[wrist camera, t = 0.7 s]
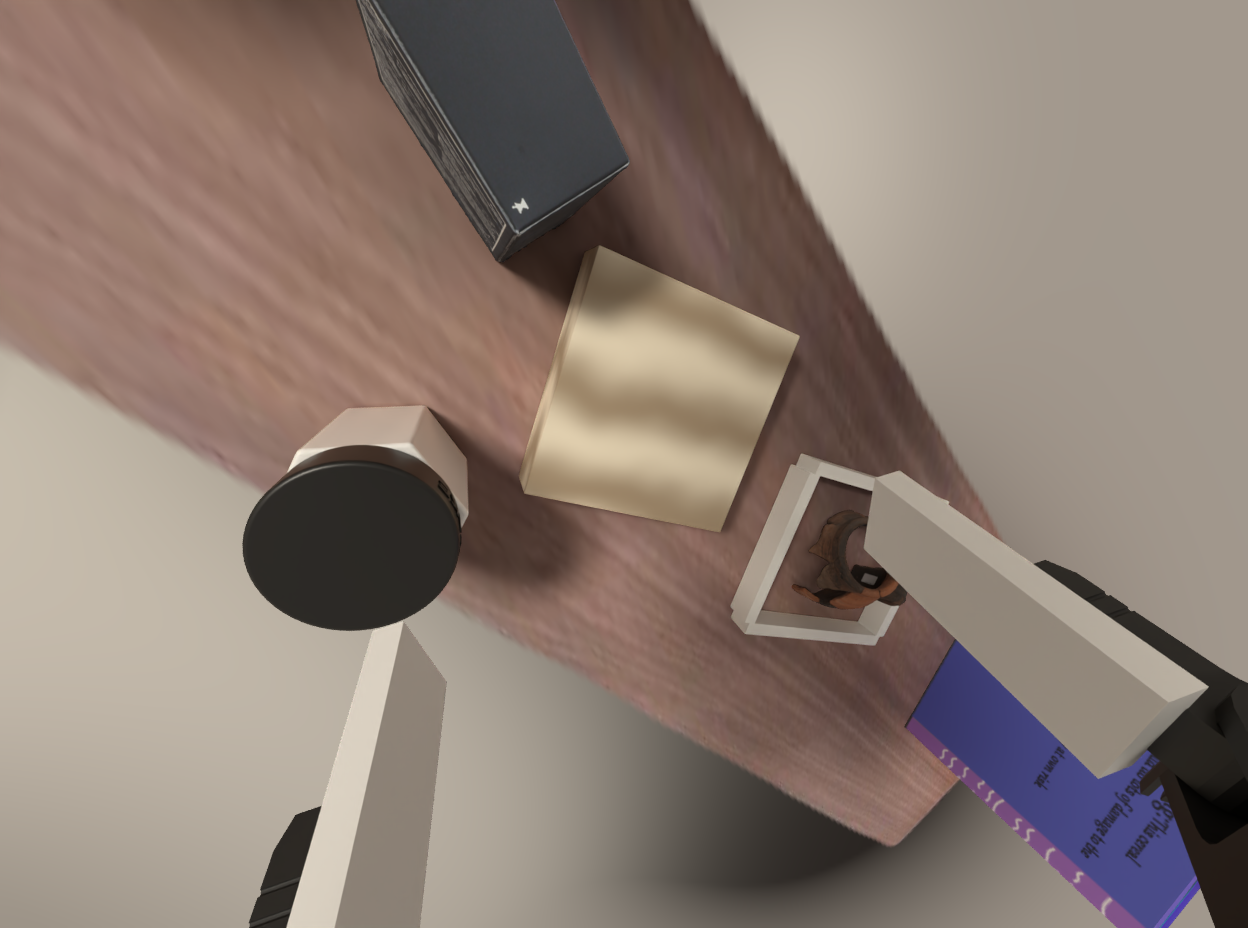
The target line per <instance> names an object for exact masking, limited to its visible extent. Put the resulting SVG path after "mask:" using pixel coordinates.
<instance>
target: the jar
mask: <svg viewBox="0 0 1248 928" xmlns="http://www.w3.org/2000/svg"><path fill="white" fill-rule="evenodd" d="M468 515H469V506H468V474H467V459H466V457H465V456H464V455H463V453H462V452H461V451H460V450H459V448H458V447H457V446H456V444H455V443H454V442H453V441H452V439H451V438H450V437H449V435H448V434H447V433H446V431H445V430H444V429H443V428H442V426H441V425H440V424H439V422H438V421H437V420H436V418H435V417H434V416H433V415H432V413H431V412H430V411H429V409H428V408H427V407H426V406H398V407H372V408H348V409H346V410H344V411H343V412H342V413H341V414H340V415H339V416H337V417H336V418H335V419H334V420H333V421H332V422H330V423H329V424H328V425H327V426H326V427H325V428H324V429H322V430H321V431H320V432H319V433H318V434H317V435H315V436H314V437H313V438H312V439H311V440H310V441H308V442H307V443H306V444H305V445H304V446H303V447H301V448H300V449H299V450H298V451H297V452H296V454H295V457H294V459H293V461H292V463H291V465H290V467H289V469H288V472H287V474H286V475H284V476H283V477H282V478H281V479H280V480H279V481H278V482H277V483H276V484H275V485H274V486H273V487H272V488H271V489H270V490H269V491H267V492H266V493H265V494H264V496H263V497H262V498H261V499H260V500H259V502H258V503H257V504H256V506H255V507H254V509H253V511H252V513H251V514H250V517H249V519H248V521H247V524H246V527H245V531H244V535H243V557H244V562H245V565H246V569H247V572H248V573H249V576H250V578H251V580H252V582H253V583H254V585H255V587H256V588H257V589H258V590H259V592H260V593H261V594H262V595H263V596H264V597H265V598H266V599H267V600H268V601H269V602H270V603H271V604H272V605H274V606H275V607H276V608H277V609H279V610H280V611H282V612H283V613H285V614H287V615H288V616H290V617H292V618H294V619H297V620H299V621H301V622H304V623H306V624H309V625H313V626H317V627H321V628H326V629H332V630H346V631H355V630H367V629H373V628H379V627H383V626H386V625H390V624H393V623H396V622H398V621H401V620H403V619H405V618H408V617H409V616H411V615H413V614H415V613H417V612H418V611H420V610H421V609H423V608H424V607H425V606H427V605H428V604H429V603H431V602H432V601H433V600H434V599H435V598H436V597H437V596H438V595H439V594H440V593H441V591H442V590H443V589H444V587H445V586H446V585H447V583H448V582H449V580H450V578H451V576H452V574H453V572H454V570H455V567H456V564H457V561H458V556H459V552H460V545H461V535H460V533H461V528H462V526H463V524H464V523H465V521H466V519H467V517H468Z"/></svg>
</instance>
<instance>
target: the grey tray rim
mask: <svg viewBox="0 0 1248 928" xmlns="http://www.w3.org/2000/svg"><path fill="white" fill-rule="evenodd" d="M820 476H822V477H825V478H829V479H832V480H836V481H839V482H842V483H846V484H849V485H853V486H856V487H860V488H863V489H866V490H870V491H873V487H874V481H875V478H877V477H875V476H872V475H869V474H866V473H863V472H860V471H856V470H853V469H850V468H847V467H844V466H840V465H837V464H834V463H831V462H828V461H824V460H821V459H818V458H815V457H812V456H809V455H805V454H802V453H801V455H800V457H799V460H798V462H797V464H796V465H793V464H791V466H790V468H789V470H788V473H787V475H786V477H785V480H784V482H783V484H782V487H781V489H780V491H779V494H778V496H777V498H776V501H775V503H774V505H773V508H772V510H771V512H770V515H769V517H768V519H767V522H766V524H765V526H764V529H763V531H762V533H761V536H760V538H759V540H758V543H757V545H756V547H755V550H754V552H753V554H752V557H751V559H750V561H749V564H748V566H747V568H746V571H745V573H744V575H743V578H742V580H741V582H740V585H739V587H738V589H737V592H736V594H735V596H734V599H733V601H732V603H731V606H730V607H731V608H732V609H733V610H734V611H733V613H732V615H731V619H732V620H733V621H734V622H735V623H736V624H737V626H738V627H739V628H740V629H741V630H742V631H743V632H744V634H751V635H762V636H774V637H785V638H796V639H807V640H818V641H829V642H840V643H852V644H863V645H874V646H875V644H876V643H877V641H878V639H879V637H880V636H881V637H883V636H884V634H885V633H886V631H887V629H888V627H889V625H890V623H891V621H892V619H893V617H894V615H895V613H896V611H897V609H898V607H899V606H889V605H887V604H884V603H882V602H880V601H877V600H876V601H874V602H873V603H871V604H869V605H868V606H865V608H864V610H863V612H862V614H861V616H860V618H859V620H858V622H857V621H849V620H840V619H832V618H823V617H815V616H807V615H798V614H790V613H781V612H773V611H764V610H761V608H762V606H763V604H764V601H765V599H766V597H767V595H768V592H769V590H770V588H771V586H772V583H773V581H774V579H775V577H776V574H777V572H778V570H779V568H780V565H781V563H782V561H783V559H784V556H785V554H786V552H787V550H788V547H789V545H790V543H791V541H792V539H793V536H794V534H795V532H796V530H797V527H798V525H799V523H800V521H801V518H802V516H803V514H804V512H805V509H806V507H807V505H808V503H809V500H810V498H811V496H812V494H813V491H814V489H815V487H816V485H817V482H818V480H819V478H820ZM938 498H939V497H938ZM939 499H941V500H942V501H944V502H945V503H947V504H948V503H949V501H947V500H944V499H942V498H939ZM906 592H907V591H906Z"/></svg>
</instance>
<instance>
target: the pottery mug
mask: <svg viewBox="0 0 1248 928" xmlns="http://www.w3.org/2000/svg"><path fill="white" fill-rule="evenodd" d="M868 518H869V517H866V516H863V515H862V514H860V513H857V512H854V511H852V510H847V511H843V512H840V513H838V514H836V515H834V516H833V517H831V518H829V519H828V521H827V524H828V525H825V526H824V527H823V529H822V532H821V535H820V538H819V541H818V542H817V543H816V544H815V545H814V546H813V547H811V549H810V550H809V552H810V553H814V554H816V555H818V556H819V557H821V558H823V559H825V560H827V561H828V562H829V564H828V565H827V566H825V567H824V568H823V569H822V572H821V574H820V576H819V577H818V579H817V585H818V587H819V588H820V589H823V590H821V591H819V592H817V593H811V592H809V591H808V590H807V589H806V588H801V587H799V586H797V585H795V584H793V585H792V588H793V589H794V590H795V591H796V592H798V593H799V594H801V595H803V596H805V597H807V598H809V599H810V600H812V601H815V602H817V603H820V604H822V605H825V606H828V607H832V608H838V609H855V608H862V607H865V606H868V605H869V604H871V603H873V602H874V601H876V600H877V601H880V602H882V603H884V604H887V605H889V606H900V605H901V604H903V603H904V602H905V601H906V595H907V592H906V590H905V589H904V588H903V587H902V586H901V585H900V584H899V583H898V582H897V581H896V580H895V579H894V578H893V577H892V576H891V575H890V574H889V573H888V572H887V571H886V570H885V569H884V568H870V567H866V566H859V565H855V566H854V567H853V569H852V571H851V572H850V570H849V568H848V565H847V562H846V556H845V555H846V553H845V551H846V544H847V540H848V538H849V536H850V534H851V533H852V532H853V531H854V530H855V529H856V528H858V527H860V526H867V524H868Z"/></svg>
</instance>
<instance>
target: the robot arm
mask: <svg viewBox="0 0 1248 928" xmlns="http://www.w3.org/2000/svg"><path fill="white" fill-rule="evenodd" d="M864 549H865V550H866V551H867V552H868V553H869V554H870V555H871V556H872V557H873V558H874V559H875V560H876V561H877V562H878V563H879V564H880V565H881V566H882V567H883V568H884V569H885V570H886V571H887V572H888V573H889V574H890V575H891V576H892V577H893V578H894V579H895V580H896V581H897V582H898V583H899V584H900V585H901V586H902V587H903V588H904V589H905V590H906V591H907V592H908V593H909V594H910V595H911V596H912V597H913V598H914V599H915V600H916V601H917V602H918V603H920V604H921V605H922V606H923V607H924V608H925V609H926V610H927V611H928V612H929V613H930V614H931V615H932V616H933V617H934V618H935V619H936V620H937V621H938V622H939V623H940V624H941V625H942V626H943V627H944V628H945V629H946V630H947V631H948V632H949V633H950V634H951V635H952V636H953V637H954V638H955V639H956V640H957V641H958V642H959V643H960V644H961V645H962V646H963V647H964V648H965V649H966V650H967V651H968V652H969V653H970V654H971V655H972V656H973V657H974V658H975V659H977V660H978V661H979V662H980V663H981V664H982V665H983V666H984V667H985V668H986V669H987V670H988V671H989V672H990V673H991V674H992V675H993V676H994V677H995V678H996V679H997V680H998V681H999V682H1000V683H1001V684H1002V685H1003V686H1004V687H1005V688H1006V689H1007V690H1008V691H1009V692H1010V693H1011V694H1012V695H1013V696H1014V697H1015V698H1016V699H1017V700H1018V701H1019V702H1020V703H1021V704H1022V705H1023V706H1024V707H1025V708H1026V709H1027V710H1028V711H1029V712H1030V713H1031V714H1032V715H1033V716H1035V717H1036V718H1037V719H1038V720H1039V721H1040V722H1041V723H1042V724H1043V725H1044V726H1045V727H1046V728H1047V729H1048V730H1049V731H1050V732H1051V733H1052V734H1053V735H1054V736H1055V737H1056V738H1057V739H1058V740H1059V741H1060V742H1061V743H1062V744H1063V745H1064V746H1065V747H1066V748H1067V749H1068V750H1069V751H1070V752H1071V753H1072V754H1073V755H1074V756H1075V757H1076V758H1077V759H1078V760H1079V761H1080V762H1081V763H1082V764H1083V765H1084V766H1085V767H1086V768H1087V769H1088V770H1089V771H1090V772H1091V773H1093V774H1094V775H1095V776H1096V777H1097V778H1098V779H1099V778H1102V777H1104V776H1107V775H1109V774H1112V773H1114V772H1117V771H1120V770H1122V769H1125V768H1127V767H1130V766H1132V765H1133V764H1134V763H1135V762H1136V761H1137V760H1138V759H1139V758H1140V757H1141V756H1142V755H1143V754H1144V753H1145V752H1146V751H1147V750H1148V751H1149V752H1150V753H1151V754H1152V755H1154V756H1155V757H1156V758H1157V759H1158V760H1159V762H1158V763H1157V764H1156V765H1155V766H1154V767H1153V768H1152V769H1150V770H1149V771H1148V772H1147V773H1146V774H1145V775H1144V777H1143V778H1142V779H1141V781H1140V782H1139V784H1140V794H1142V795H1145V796H1150V795H1151V794H1152V793H1153V792H1154V791H1155V790H1156V789H1157V788H1159V787H1160V786H1161V785H1162V786H1163V789H1164V791H1163V792H1162V795H1161V797H1160V800H1161V801H1164V802H1167V803H1169V805H1170V807H1171V810H1172V813H1173V815H1174V818H1175V821H1176V824H1177V826H1178V829H1179V832H1180V834H1181V837H1182V840H1183V842H1184V845H1185V848H1186V850H1187V853H1188V856H1189V859H1190V861H1191V864H1192V867H1193V869H1194V872H1195V875H1196V877H1197V880H1198V883H1199V885H1200V888H1201V891H1202V893H1203V896H1204V899H1205V901H1206V904H1207V907H1208V910H1209V912H1210V915H1211V917H1212V920H1213V923H1214V925H1215V928H1248V683H1246V682H1244V681H1242V680H1240V679H1238V678H1236V677H1234V676H1233V675H1231V674H1229V673H1228V672H1226V671H1224V670H1223V669H1221V668H1219V667H1218V666H1216V665H1215V664H1213V663H1212V662H1210V661H1209V660H1207V659H1206V658H1204V657H1203V656H1201V655H1200V654H1198V653H1196V652H1195V651H1194V650H1192V649H1191V648H1189V647H1188V646H1186V645H1185V644H1183V643H1182V642H1180V641H1179V640H1177V639H1176V638H1174V637H1173V636H1171V635H1170V634H1168V633H1166V632H1165V631H1164V630H1162V629H1161V628H1159V627H1158V626H1156V625H1155V624H1153V623H1151V622H1150V621H1148V620H1147V619H1145V618H1144V617H1142V616H1141V615H1139V614H1138V613H1136V612H1135V611H1130V610H1129V609H1128V607H1127V606H1126V605H1124V604H1123V603H1121V602H1120V601H1118V600H1117V599H1115V598H1114V597H1112V596H1111V595H1110V596H1108V595H1106V594H1105V592H1104V591H1103V590H1101V589H1100V588H1099V587H1097V586H1095V585H1094V584H1093V583H1091V582H1090V581H1088V580H1087V579H1085V578H1083V577H1082V576H1080V575H1079V574H1077V573H1075V572H1073V571H1071V570H1068V569H1066V568H1063V567H1061V566H1058V565H1056V564H1054V563H1051V562H1049V561H1046V560H1044V561H1041V562H1038V563H1035V564H1032V563H1031V562H1030V561H1028V560H1027V559H1025V558H1024V557H1022V556H1021V555H1019V554H1018V553H1017V552H1015V551H1014V550H1012V549H1011V548H1010V547H1008V546H1007V545H1005V544H1004V543H1002V542H1001V541H1000V540H998V539H997V538H995V537H994V536H992V535H991V534H990V533H988V532H987V531H985V530H984V529H982V528H981V527H980V526H978V525H977V524H975V523H974V522H972V521H971V520H970V519H968V518H967V517H965V516H964V515H962V514H961V513H959V512H958V511H957V510H955V509H954V508H952V507H951V506H949V505H948V504H947V503H945V502H944V501H942V500H941V499H939V498H938V497H937V496H935V495H934V494H932V493H931V492H929V491H928V490H927V489H925V488H924V487H922V486H921V485H919V484H918V483H917V482H915V481H914V480H912V479H911V478H909V477H908V476H907V475H905V474H904V473H902V472H901V471H896V472H893V473H890V474H886V475H883V476H880V477H877V478H875V481H874V487H873V493H872V499H871V506H870V512H869V518H868V524H867V530H866V536H865V543H864ZM446 683H447V682H446V681H445V679H444V678H443V676H442V675H441V673H440V672H439V671H438V669H437V668H436V666H435V665H434V664H433V662H432V661H431V659H430V658H429V657H428V655H427V654H426V652H425V651H424V650H423V648H422V647H421V645H420V644H419V642H418V641H417V640H416V638H415V637H414V635H413V634H412V633H411V631H410V630H409V628H408V627H407V626H406V624H405V623H404V622H400V623H397V624H393V625H390V626H387V627H383V628H380V629H377V630H374V631H373V632H372V635H371V639H370V642H369V646H368V649H367V652H366V656H365V659H364V663H363V666H362V670H361V673H360V676H359V680H358V683H357V687H356V690H355V694H354V697H353V701H352V704H351V707H350V711H349V714H348V718H347V721H346V725H345V728H344V731H343V735H342V738H341V742H340V745H339V749H338V752H337V755H336V759H335V762H334V766H333V769H332V773H331V776H330V780H329V783H328V786H327V790H326V793H325V797H324V800H323V804H322V806H320V807H317V808H314V809H311V810H308V811H305V812H302V813H300V814H297V815H295V817H294V819H293V820H292V822H291V823H290V825H289V827H288V829H287V830H286V832H285V833H284V835H283V837H282V838H281V840H280V841H279V843H278V845H277V846H276V848H275V850H274V852H273V854H272V857H271V860H270V863H269V866H268V869H267V872H266V875H265V877H264V880H263V883H262V886H261V889H260V890H261V895H260V897H258V898H257V901H256V904H255V906H254V909H253V912H252V915H251V918H250V921H249V923H250V927H249V928H420V920H421V911H422V901H423V893H424V883H425V874H426V865H427V856H428V847H429V837H430V829H431V820H432V810H433V801H434V792H435V783H436V774H437V765H438V756H439V746H440V738H441V729H442V720H443V719H442V718H443V711H444V701H445V692H446Z"/></svg>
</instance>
